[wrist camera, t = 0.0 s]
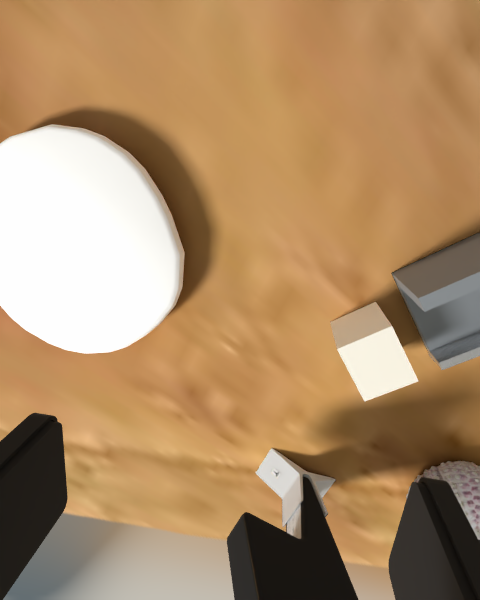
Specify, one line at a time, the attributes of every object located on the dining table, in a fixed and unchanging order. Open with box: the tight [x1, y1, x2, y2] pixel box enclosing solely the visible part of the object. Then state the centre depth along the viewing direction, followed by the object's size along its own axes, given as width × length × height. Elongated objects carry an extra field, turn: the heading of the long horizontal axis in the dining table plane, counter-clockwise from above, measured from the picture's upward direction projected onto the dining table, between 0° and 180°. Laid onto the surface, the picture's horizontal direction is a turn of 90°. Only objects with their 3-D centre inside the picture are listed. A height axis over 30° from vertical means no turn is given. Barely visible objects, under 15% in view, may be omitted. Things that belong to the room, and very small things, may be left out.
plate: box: [0, 124, 185, 354], centre depth 46 cm, size 28×6×27 cm
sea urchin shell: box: [406, 461, 480, 542], centre depth 49 cm, size 13×14×8 cm
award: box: [227, 448, 358, 600], centre depth 41 cm, size 15×5×30 cm, turn 65°
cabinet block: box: [330, 302, 418, 401], centre depth 43 cm, size 8×6×8 cm
